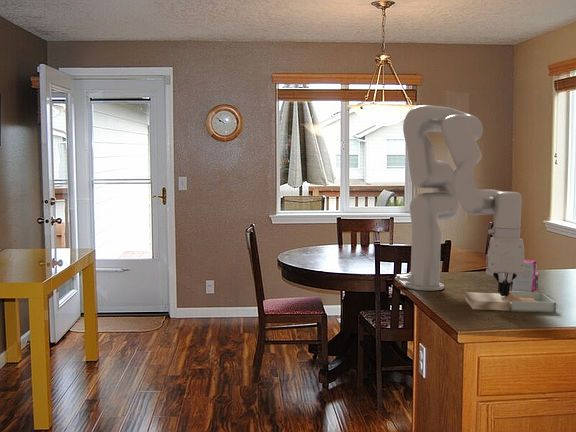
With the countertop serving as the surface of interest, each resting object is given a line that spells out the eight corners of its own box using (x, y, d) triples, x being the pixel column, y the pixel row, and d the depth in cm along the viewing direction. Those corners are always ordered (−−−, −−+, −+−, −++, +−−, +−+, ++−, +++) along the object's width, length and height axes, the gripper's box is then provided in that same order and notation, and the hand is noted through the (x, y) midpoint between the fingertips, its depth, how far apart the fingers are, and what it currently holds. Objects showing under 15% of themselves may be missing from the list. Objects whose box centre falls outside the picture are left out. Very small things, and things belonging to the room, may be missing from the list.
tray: (512, 311, 189) (512, 301, 189) (501, 300, 203) (501, 290, 202) (555, 313, 188) (556, 302, 187) (541, 302, 202) (541, 292, 201)
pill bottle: (538, 293, 214) (540, 266, 213) (522, 292, 215) (523, 265, 214) (536, 290, 219) (537, 263, 219) (519, 289, 220) (521, 262, 220)
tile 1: (506, 298, 193) (510, 293, 193) (503, 295, 197) (507, 290, 197) (517, 306, 193) (521, 301, 193) (514, 303, 197) (518, 298, 197)
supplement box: (530, 298, 206) (532, 262, 205) (511, 296, 209) (513, 260, 208) (534, 295, 211) (536, 260, 210) (515, 293, 214) (517, 258, 213)
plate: (472, 309, 191) (472, 300, 191) (465, 299, 203) (465, 292, 202) (509, 310, 190) (510, 302, 190) (500, 301, 202) (500, 293, 201)
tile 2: (535, 300, 193) (535, 306, 193) (532, 297, 197) (532, 303, 197) (521, 300, 193) (521, 306, 193) (518, 297, 197) (518, 303, 197)
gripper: (483, 234, 191) (480, 297, 192) (536, 236, 189) (532, 299, 191) (478, 231, 198) (475, 291, 200) (529, 232, 197) (526, 293, 198)
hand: (503, 295), depth 195 cm, fingers closed
